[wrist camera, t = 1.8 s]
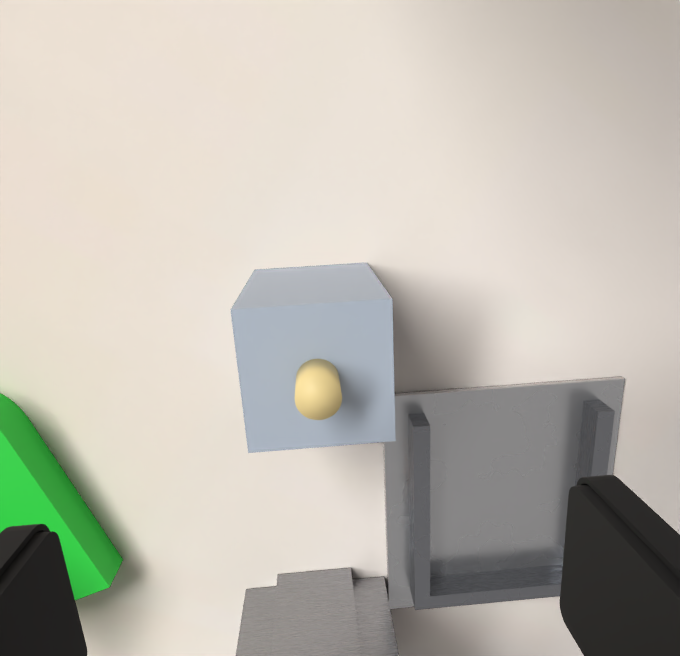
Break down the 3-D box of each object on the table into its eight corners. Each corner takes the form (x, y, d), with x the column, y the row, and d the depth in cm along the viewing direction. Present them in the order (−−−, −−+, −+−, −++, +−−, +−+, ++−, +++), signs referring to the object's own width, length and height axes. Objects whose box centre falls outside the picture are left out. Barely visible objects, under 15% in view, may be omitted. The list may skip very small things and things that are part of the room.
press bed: (381, 394, 24) (387, 409, 22) (621, 376, 24) (642, 389, 23) (388, 604, 27) (393, 629, 26) (594, 585, 28) (611, 608, 26)
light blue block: (254, 269, 22) (222, 323, 13) (366, 262, 22) (401, 311, 14) (265, 373, 23) (242, 479, 15) (370, 366, 23) (403, 465, 15)
